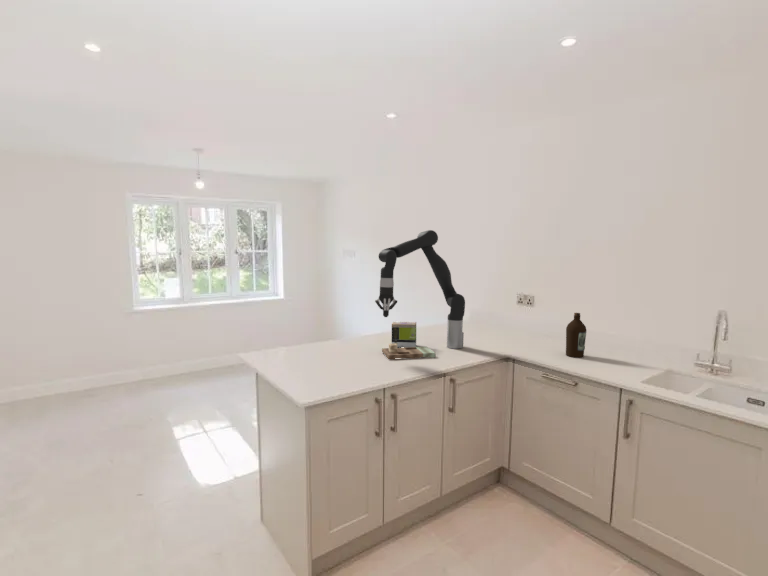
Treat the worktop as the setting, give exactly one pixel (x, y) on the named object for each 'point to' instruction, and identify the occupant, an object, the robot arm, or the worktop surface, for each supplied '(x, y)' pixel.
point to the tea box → (404, 334)
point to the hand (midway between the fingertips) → (385, 316)
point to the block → (393, 347)
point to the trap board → (409, 352)
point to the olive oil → (575, 337)
